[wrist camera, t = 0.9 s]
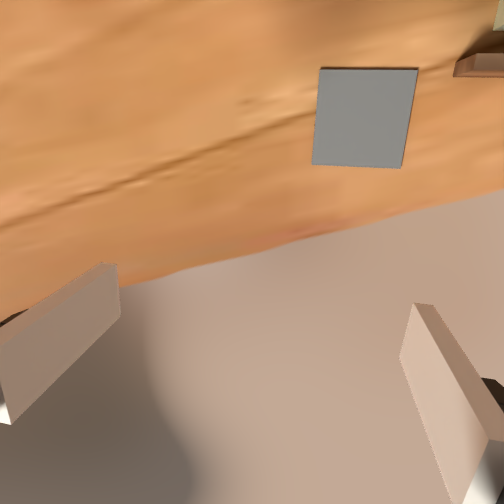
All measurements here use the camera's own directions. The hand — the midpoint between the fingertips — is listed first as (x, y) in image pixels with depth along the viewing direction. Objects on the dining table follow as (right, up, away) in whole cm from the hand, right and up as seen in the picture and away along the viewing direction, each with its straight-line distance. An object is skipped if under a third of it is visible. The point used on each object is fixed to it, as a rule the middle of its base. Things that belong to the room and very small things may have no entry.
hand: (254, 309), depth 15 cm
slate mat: (+11, +16, +19) cm, 27 cm away
